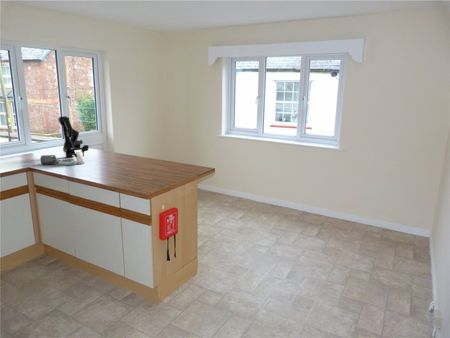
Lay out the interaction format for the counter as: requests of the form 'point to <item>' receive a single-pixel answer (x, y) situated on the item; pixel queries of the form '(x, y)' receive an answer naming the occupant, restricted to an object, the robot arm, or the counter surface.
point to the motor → (52, 160)
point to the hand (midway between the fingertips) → (80, 156)
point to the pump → (79, 158)
